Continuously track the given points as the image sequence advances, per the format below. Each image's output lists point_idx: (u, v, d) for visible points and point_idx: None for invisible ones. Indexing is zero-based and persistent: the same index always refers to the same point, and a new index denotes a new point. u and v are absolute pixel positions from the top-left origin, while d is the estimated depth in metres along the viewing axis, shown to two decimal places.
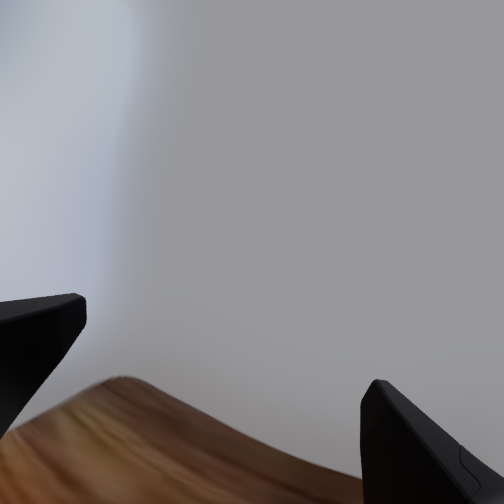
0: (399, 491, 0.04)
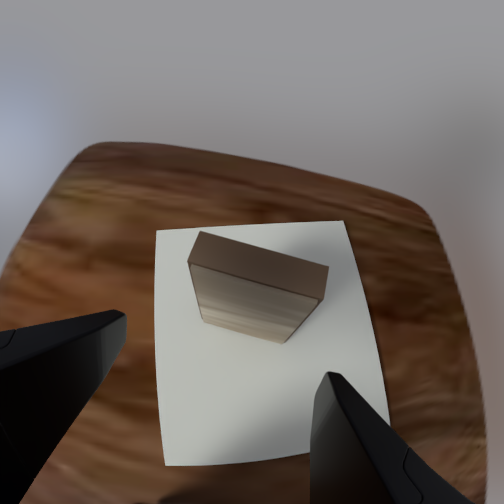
0: (338, 492, 0.04)
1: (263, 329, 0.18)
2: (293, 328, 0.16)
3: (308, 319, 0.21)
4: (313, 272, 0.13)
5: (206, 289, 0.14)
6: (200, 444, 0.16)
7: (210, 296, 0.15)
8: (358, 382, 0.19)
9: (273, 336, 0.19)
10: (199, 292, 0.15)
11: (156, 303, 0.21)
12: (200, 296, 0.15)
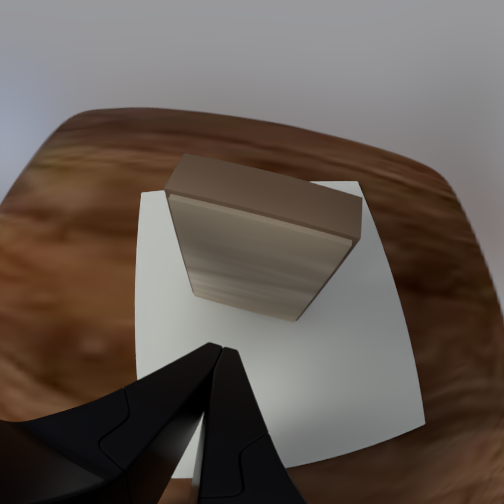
0: (195, 469, 0.04)
1: (270, 300, 0.14)
2: (311, 295, 0.12)
3: (324, 291, 0.17)
4: (342, 203, 0.09)
5: (193, 237, 0.10)
6: (192, 452, 0.12)
7: (199, 250, 0.11)
8: (387, 369, 0.15)
9: (283, 311, 0.15)
10: (184, 244, 0.11)
11: (137, 275, 0.17)
12: (186, 251, 0.12)
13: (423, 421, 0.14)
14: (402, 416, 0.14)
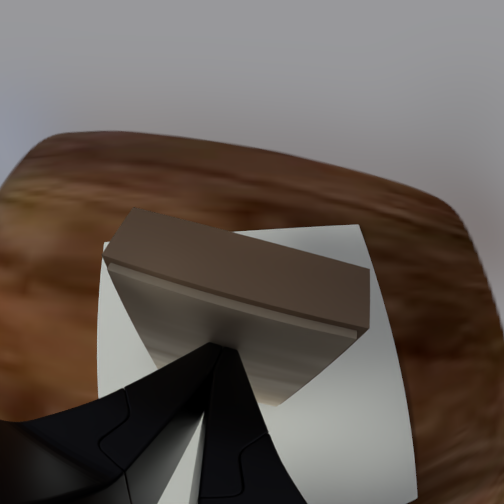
0: (195, 469, 0.04)
1: None
2: (298, 385, 0.09)
3: None
4: (344, 278, 0.06)
5: (145, 317, 0.08)
6: None
7: (156, 331, 0.08)
8: (380, 449, 0.12)
9: (264, 397, 0.11)
10: (137, 324, 0.08)
11: (99, 345, 0.13)
12: (142, 331, 0.09)
13: (415, 495, 0.10)
14: (393, 494, 0.10)
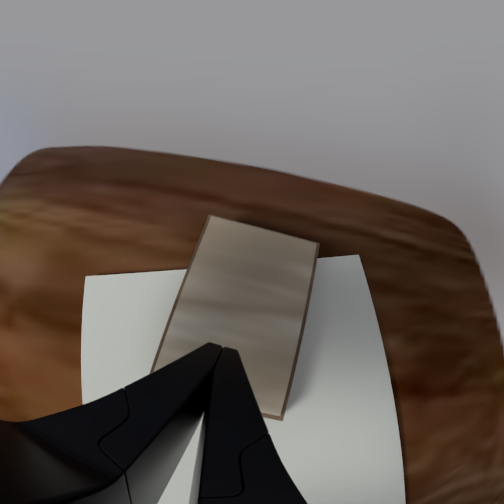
0: (195, 469, 0.04)
1: (257, 350, 0.12)
2: (299, 321, 0.13)
3: (304, 416, 0.13)
4: None
5: (210, 251, 0.14)
6: None
7: (208, 267, 0.14)
8: (370, 491, 0.10)
9: (269, 378, 0.12)
10: (197, 261, 0.14)
11: (84, 387, 0.12)
12: (194, 271, 0.14)
13: None
14: None
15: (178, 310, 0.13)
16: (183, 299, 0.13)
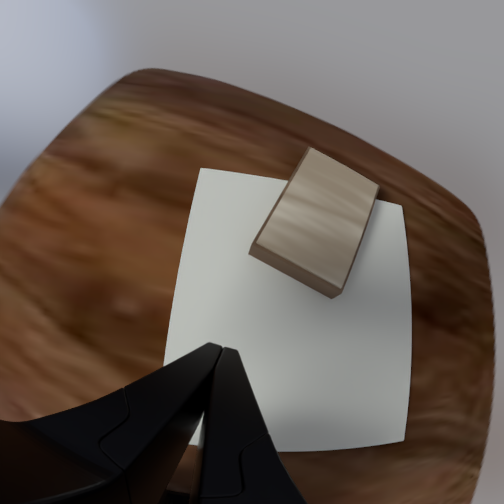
0: (195, 469, 0.04)
1: (333, 239, 0.18)
2: (362, 229, 0.18)
3: (350, 302, 0.18)
4: None
5: (309, 169, 0.19)
6: None
7: (306, 178, 0.19)
8: (385, 384, 0.17)
9: (338, 259, 0.17)
10: (299, 173, 0.19)
11: (185, 248, 0.18)
12: (296, 178, 0.19)
13: (402, 438, 0.15)
14: (387, 428, 0.15)
15: (283, 200, 0.18)
16: (287, 194, 0.18)
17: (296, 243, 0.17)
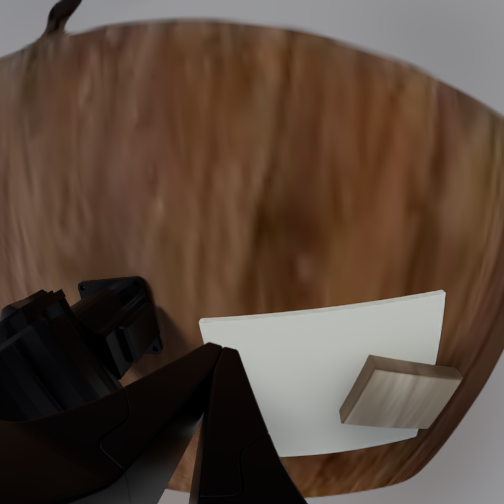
0: (195, 469, 0.04)
1: (381, 413, 0.19)
2: (390, 426, 0.19)
3: (337, 420, 0.22)
4: None
5: (440, 385, 0.18)
6: None
7: (432, 386, 0.18)
8: (279, 444, 0.23)
9: (365, 418, 0.19)
10: (436, 381, 0.18)
11: (367, 308, 0.19)
12: (431, 381, 0.18)
13: None
14: None
15: (412, 378, 0.18)
16: (417, 379, 0.18)
17: (376, 394, 0.19)
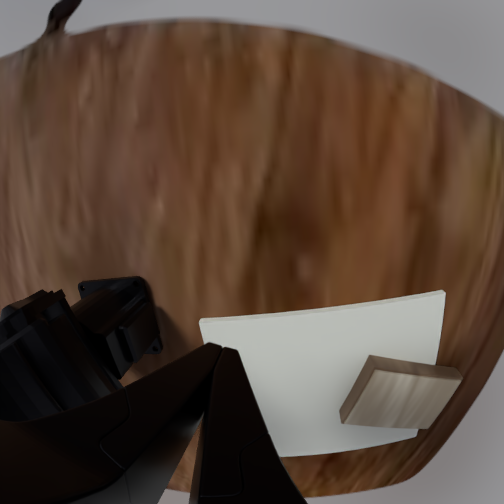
0: (195, 469, 0.04)
1: (381, 413, 0.19)
2: (390, 426, 0.19)
3: (337, 420, 0.22)
4: None
5: (440, 385, 0.18)
6: None
7: (432, 387, 0.18)
8: (279, 444, 0.23)
9: (365, 419, 0.19)
10: (436, 381, 0.18)
11: (367, 308, 0.19)
12: (431, 381, 0.18)
13: None
14: None
15: (412, 378, 0.18)
16: (417, 379, 0.18)
17: (376, 394, 0.19)
